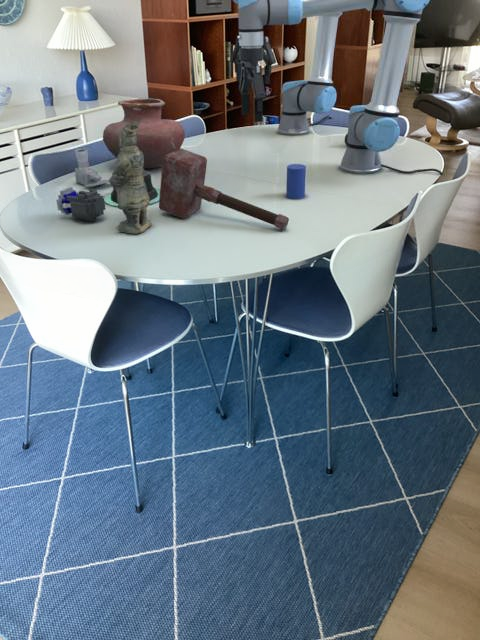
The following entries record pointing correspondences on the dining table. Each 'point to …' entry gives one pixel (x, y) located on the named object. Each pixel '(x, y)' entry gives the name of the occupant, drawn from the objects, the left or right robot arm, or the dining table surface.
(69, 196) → the toy
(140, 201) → the statue
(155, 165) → the clay pot
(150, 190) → the chocolate cake
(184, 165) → the sledgehammer
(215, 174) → the dining table surface
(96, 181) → the grey l-shaped piece
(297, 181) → the canister
